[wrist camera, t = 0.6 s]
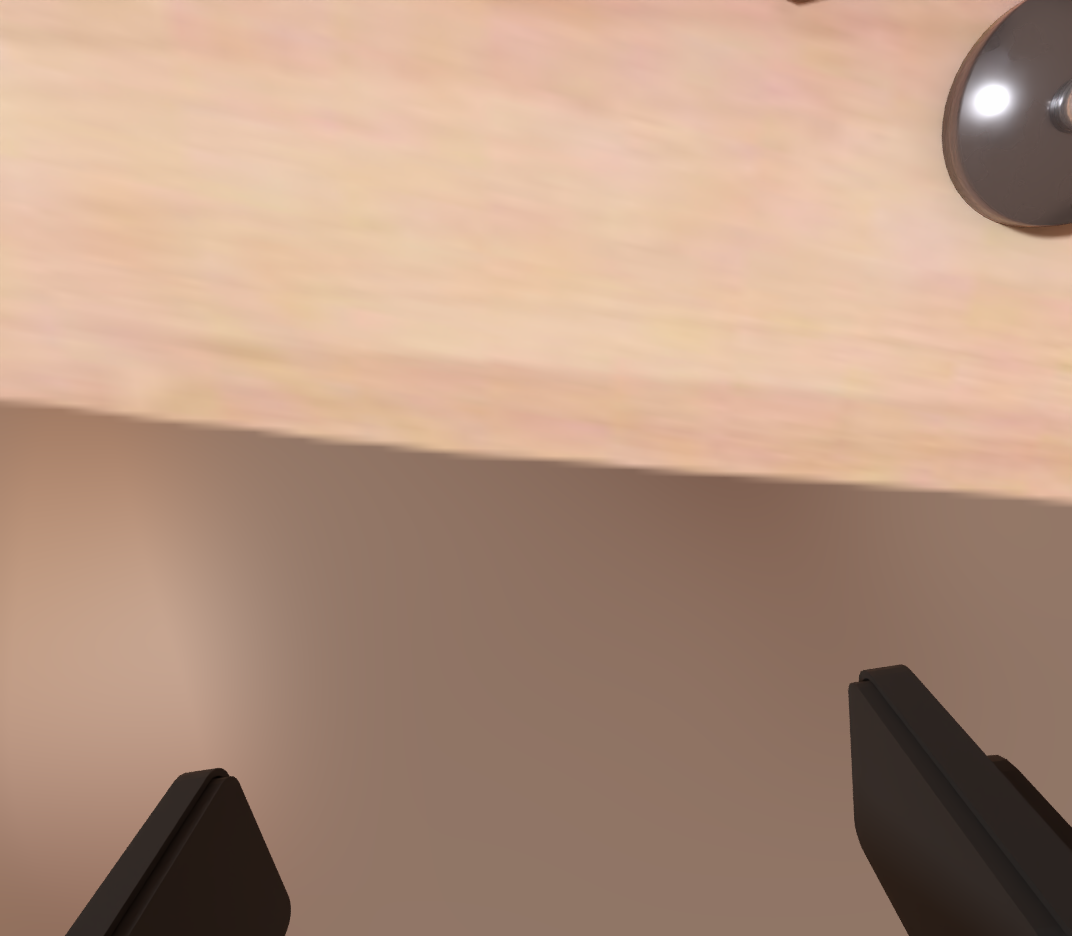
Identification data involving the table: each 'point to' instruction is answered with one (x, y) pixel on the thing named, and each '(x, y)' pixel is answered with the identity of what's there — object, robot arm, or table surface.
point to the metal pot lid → (1015, 118)
